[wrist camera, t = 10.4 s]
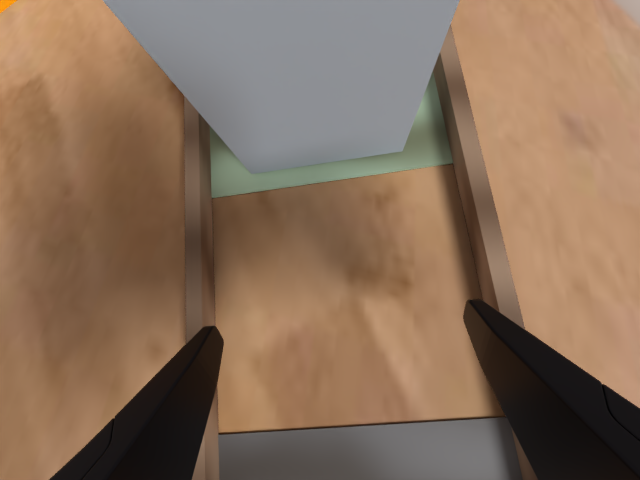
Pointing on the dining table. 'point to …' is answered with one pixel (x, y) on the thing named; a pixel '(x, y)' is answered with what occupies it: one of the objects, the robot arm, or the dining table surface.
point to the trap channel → (374, 440)
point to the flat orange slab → (5, 4)
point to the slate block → (296, 71)
